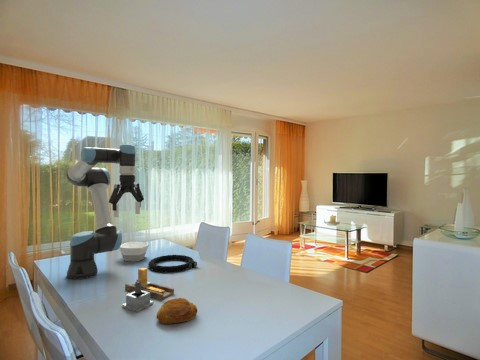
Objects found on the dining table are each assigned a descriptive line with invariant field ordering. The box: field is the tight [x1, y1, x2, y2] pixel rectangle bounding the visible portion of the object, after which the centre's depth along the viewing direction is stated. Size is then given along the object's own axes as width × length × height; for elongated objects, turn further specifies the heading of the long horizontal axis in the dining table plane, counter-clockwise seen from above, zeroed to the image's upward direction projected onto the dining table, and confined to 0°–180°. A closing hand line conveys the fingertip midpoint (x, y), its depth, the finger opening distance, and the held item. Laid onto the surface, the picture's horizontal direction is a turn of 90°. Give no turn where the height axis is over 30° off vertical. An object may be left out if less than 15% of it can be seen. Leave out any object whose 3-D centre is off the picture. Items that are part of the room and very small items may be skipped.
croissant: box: [156, 297, 198, 325], centre depth 117 cm, size 14×16×8 cm
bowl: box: [118, 241, 150, 262], centre depth 194 cm, size 18×18×9 cm
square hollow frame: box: [125, 290, 151, 308], centre depth 126 cm, size 7×7×4 cm
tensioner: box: [133, 267, 164, 293], centre depth 140 cm, size 16×5×9 cm, turn 61°
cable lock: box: [148, 254, 198, 273], centre depth 180 cm, size 28×4×30 cm
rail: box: [124, 279, 175, 301], centre depth 141 cm, size 24×8×2 cm, turn 61°
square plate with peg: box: [121, 280, 154, 313], centre depth 126 cm, size 9×9×10 cm
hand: (127, 215), depth 152 cm, fingers open, 13 cm apart
